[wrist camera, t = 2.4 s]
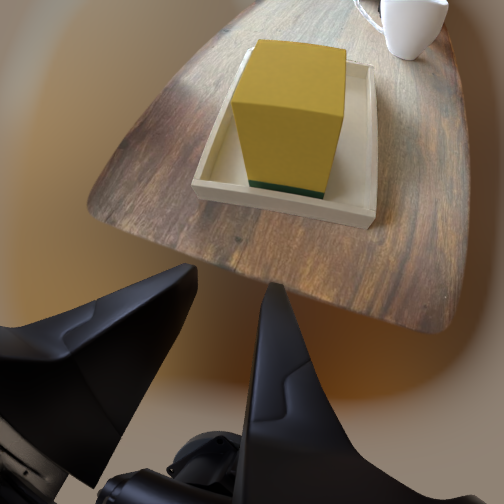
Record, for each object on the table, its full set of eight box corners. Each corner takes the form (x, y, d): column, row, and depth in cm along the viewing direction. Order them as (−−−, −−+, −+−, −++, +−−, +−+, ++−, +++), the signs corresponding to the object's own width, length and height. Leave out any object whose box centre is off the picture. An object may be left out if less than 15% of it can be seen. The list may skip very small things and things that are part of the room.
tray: (366, 230, 22) (375, 218, 20) (198, 199, 24) (190, 185, 22) (369, 80, 27) (373, 65, 24) (250, 63, 29) (248, 47, 27)
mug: (424, 49, 29) (442, -7, 18) (430, 77, 27) (455, 13, 16) (350, 25, 31) (357, -35, 20) (345, 49, 29) (354, -22, 18)
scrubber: (322, 202, 22) (344, 117, 13) (249, 189, 23) (229, 101, 14) (330, 136, 24) (346, 49, 15) (266, 126, 25) (258, 38, 16)
